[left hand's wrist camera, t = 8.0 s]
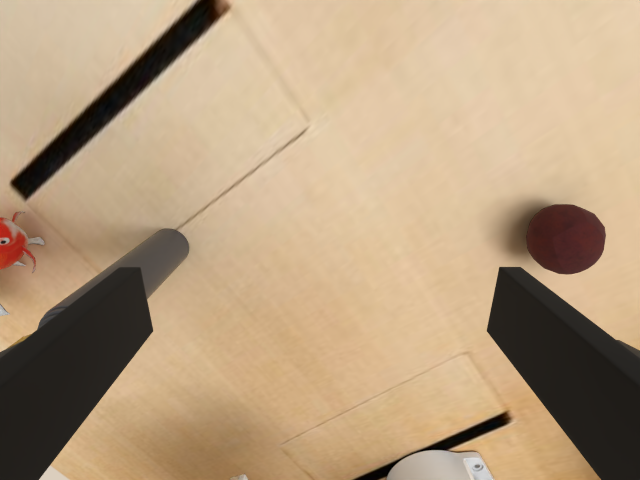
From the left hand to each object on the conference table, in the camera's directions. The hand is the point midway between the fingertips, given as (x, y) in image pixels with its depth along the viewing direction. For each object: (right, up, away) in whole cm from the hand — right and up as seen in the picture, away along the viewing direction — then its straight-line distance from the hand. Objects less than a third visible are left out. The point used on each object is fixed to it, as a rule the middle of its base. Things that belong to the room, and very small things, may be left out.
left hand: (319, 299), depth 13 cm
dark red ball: (+27, +4, +29) cm, 39 cm away
